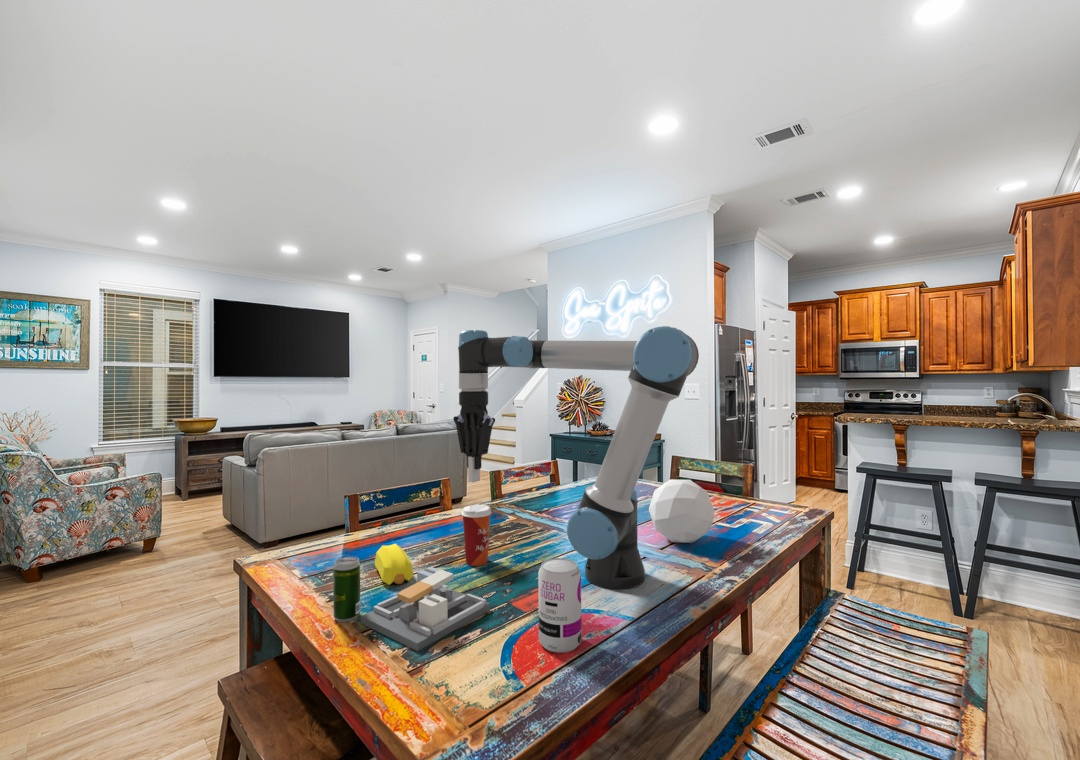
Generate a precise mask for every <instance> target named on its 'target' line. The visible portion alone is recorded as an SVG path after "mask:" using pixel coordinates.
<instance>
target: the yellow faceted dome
mask: <svg viewBox="0 0 1080 760" xmlns="http://www.w3.org/2000/svg"><path fill="white" fill-rule="evenodd" d="M374 566H375V568H376V569H377V570H378V574H379V575H380V579H381V581H382V582H384V583H385V584H386V585H387V586H390V585H391V584H393V583H394V584H396V585H402V584H403V583H404V582H405V581H406V582H409V581H410V580H411V579H412V578H413V576H414V575H415V574H414V570H413V564H412V561H411V560H410V558H409V556H408V554H407V552H406V551H405V550H404V549H403V548H402V547H401V546H400V545H398V544H397V543H393V544H389V545H384V544H383V545H381V546H380V548H379V549H378V550H377V551H376V553H375V559H374Z"/></svg>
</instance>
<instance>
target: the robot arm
mask: <svg viewBox="0 0 1080 760" xmlns="http://www.w3.org/2000/svg"><path fill="white" fill-rule="evenodd" d="M488 335H489V333H488V331H486V330H481V329H480V330H479V329H474V330H473V329H472V330H471V329H466V330H462V331H461V332H459V335H458V346H457V350H458V373H459V374H458V389H459V390H461V391H459V392H458V405H459V406H460V407H461V409H460V412H459V414H458V415H455V416H453V418H452V419H453V422H454V424H455V426H456V433H457V438H458V444H459V450H460V453H461V454H465V456H466V468H467V469H468V483H476V482H477V483H478V482H480V481H481V475H480V474H481V469H482V457H483V455H488V452H489V447H490V441H491V436H492V429H493V426H494V425H495V422H496V419H495V417H491V416H490V415H489V412H488V409H487V406H488V404H489V391H487V389H489V368H528V369H559V370H560V369H561V370H562V369H563V370H586V371H587V370H589V371H590V370H591V371H592V370H593V371H594V370H595V371H618V372H619V371H621V372H623V371H624V372H627V371H628V372H629V375H628V377H627V379H628V381H629V383H630V385H631V386H630V387H631V389H630V391H629V395H628V396H627V399H626V402H625V404H624V407H623V409H622V411H621V415H620V417H619V420H618V422H617V425H616V427H615V430H614V433H613V436H612V438H611V441H610V443H609V445H608V448H607V451H606V453H605V456H604V459H603V461H602V464H601V467H600V468H599V469H600V470H599V472H598V474H597V477H596V479H595V482H594V483H593V484H591V485H589V486H586V487H585V490H584V492H583V495H582V497H581V500H580V503H579V504H578V507H577V509H576V510H575V511H574V512H573V513H572V514H571V515H570V517H569V519H568V520H567V521H568V522H567V524H566V535H567V539H568V540H569V543H570V545H571V547H572V548H573V549H574V550H575V551H576V553H578V554H579V555H581V556H582V557H584V558H587V559H586V563H585V565H584V567H585V568H584V576H585V578H586V580H587V581H588V582H589V583H591V584H593V585H596V586H597V587H602V588H606V589H616V590H617V589H618V590H619V589H623V590H624V589H630V588H635V587H637V586H640V585H642V584H643V583H644V582H645V579H646V576H645V575H646V572H645V571H646V569H645V566H644V563H643V560H642V558H641V554H640V551H639V547H638V503H639V499H638V492H637V491H636V489H635V488H636V485H637V483H638V481H639V478H640V476H641V473H642V470H643V468H644V464H645V463H646V460H647V458H648V455H649V453H650V450H651V448H652V445H653V442H654V441H655V439H656V438H655V437H656V435H657V432H658V430H659V428H660V425H661V424H662V423H661V422H662V421H663V417H664V415H665V412H666V410H667V407H668V405H669V403H670V402H671V401H672V400H675V399H677V398H679V397H680V395H681V391H682V390H683V387H684V385H685V382H686V380H687V378H688V376H690V375H691V374H692V373H694V371H695V370H696V368H697V365H698V362H699V358H700V357H699V355H700V354H699V353H700V352H699V348H698V346H697V343H696V342H695V340H694V339H693V338H692V337H691V336H689V335H688V334H687V333H685V332H684V331H682V329H678V328H677V327H671V326H667V325H666V326H665V325H664V326H663V325H662V326H657V327H656V326H655V327H652V328H651V329H649V330H647V331H645V332H644V333H643V334H641V336H639V338H638V339H637V340H540V339H539V340H531V339H529V337H527V336H519V335H512V336H502V337H501V336H500V337H499V336H498V337H489V336H488Z"/></svg>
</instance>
